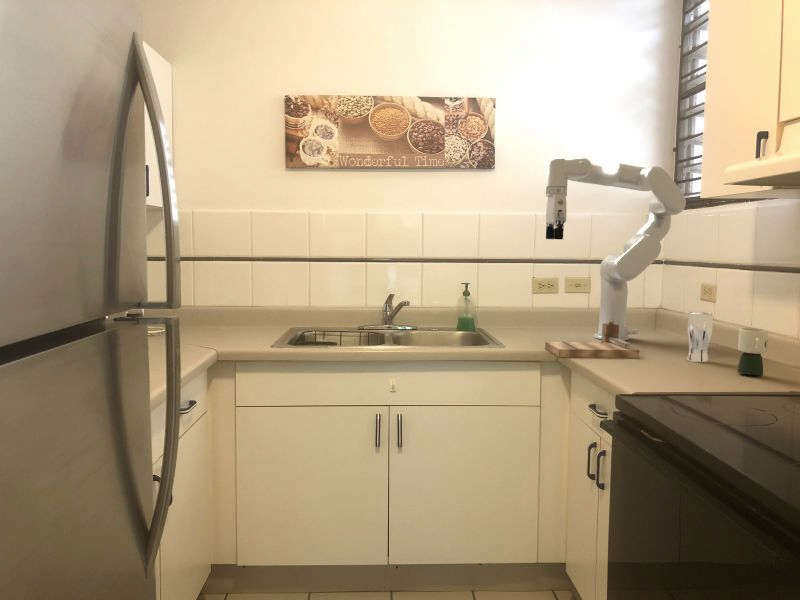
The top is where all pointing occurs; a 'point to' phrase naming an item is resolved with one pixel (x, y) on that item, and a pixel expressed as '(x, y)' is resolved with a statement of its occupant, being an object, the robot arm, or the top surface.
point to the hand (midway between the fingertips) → (554, 239)
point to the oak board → (591, 350)
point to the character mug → (752, 350)
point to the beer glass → (699, 336)
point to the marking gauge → (613, 334)
